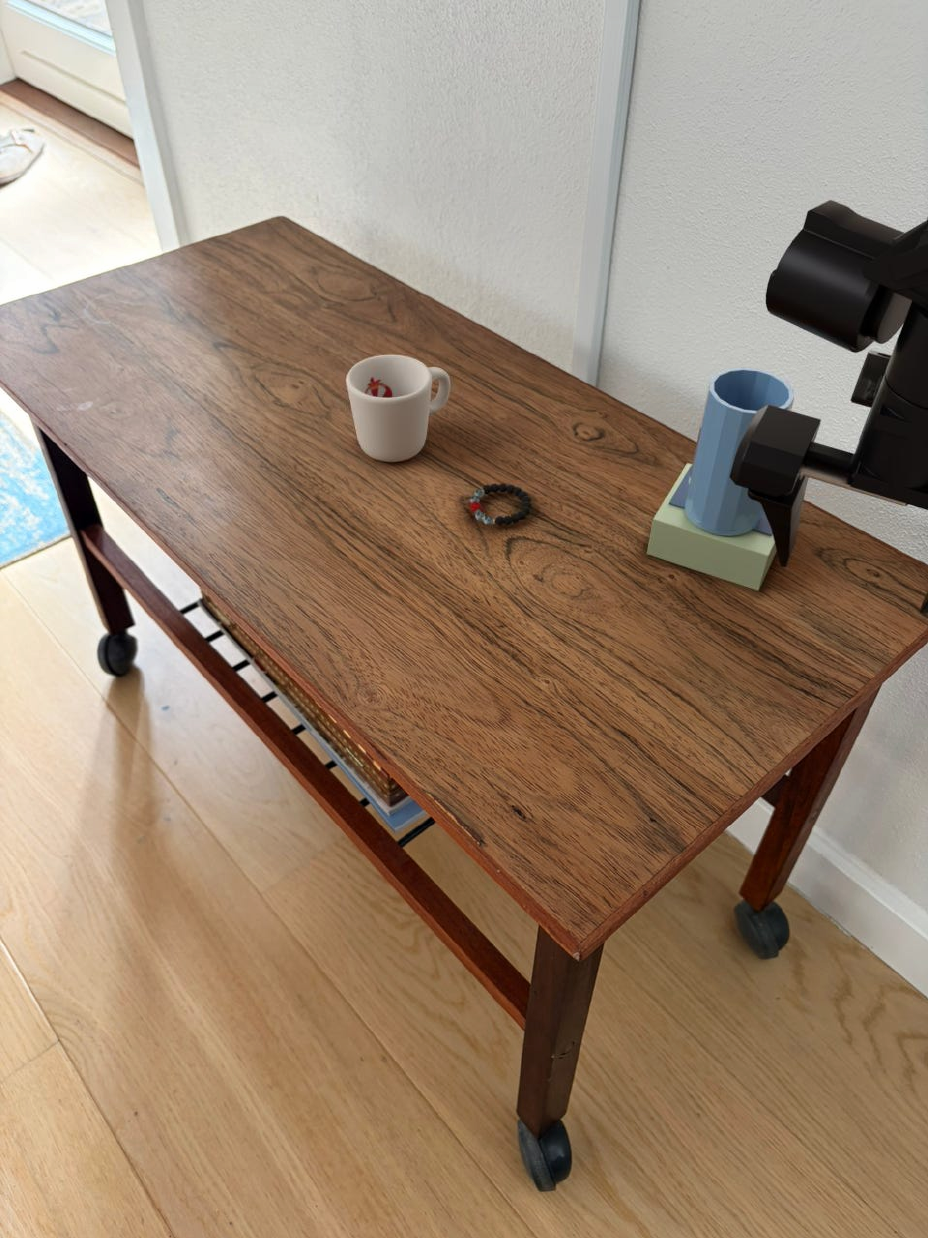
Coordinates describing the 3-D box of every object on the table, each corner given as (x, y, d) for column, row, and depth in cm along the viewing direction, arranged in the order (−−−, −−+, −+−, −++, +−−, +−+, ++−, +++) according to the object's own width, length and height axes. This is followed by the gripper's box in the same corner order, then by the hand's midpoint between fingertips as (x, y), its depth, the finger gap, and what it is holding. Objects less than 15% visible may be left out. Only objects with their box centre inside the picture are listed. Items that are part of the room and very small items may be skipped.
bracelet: (463, 493, 95) (463, 484, 94) (522, 485, 96) (523, 477, 95) (476, 532, 91) (477, 523, 90) (538, 523, 92) (539, 515, 91)
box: (786, 530, 92) (797, 493, 89) (758, 591, 86) (769, 554, 83) (680, 497, 95) (687, 460, 92) (646, 554, 89) (653, 517, 86)
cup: (424, 405, 105) (423, 335, 100) (472, 441, 101) (473, 370, 95) (336, 442, 101) (329, 371, 95) (381, 481, 96) (377, 409, 90)
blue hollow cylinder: (772, 530, 85) (808, 407, 77) (701, 540, 84) (728, 417, 76) (741, 483, 90) (772, 363, 81) (673, 493, 89) (696, 372, 80)
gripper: (1127, 359, 59) (1014, 558, 70) (805, 280, 64) (749, 476, 75) (1117, 465, 52) (993, 667, 63) (757, 366, 57) (703, 568, 68)
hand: (852, 585), depth 68 cm, fingers open, 9 cm apart
